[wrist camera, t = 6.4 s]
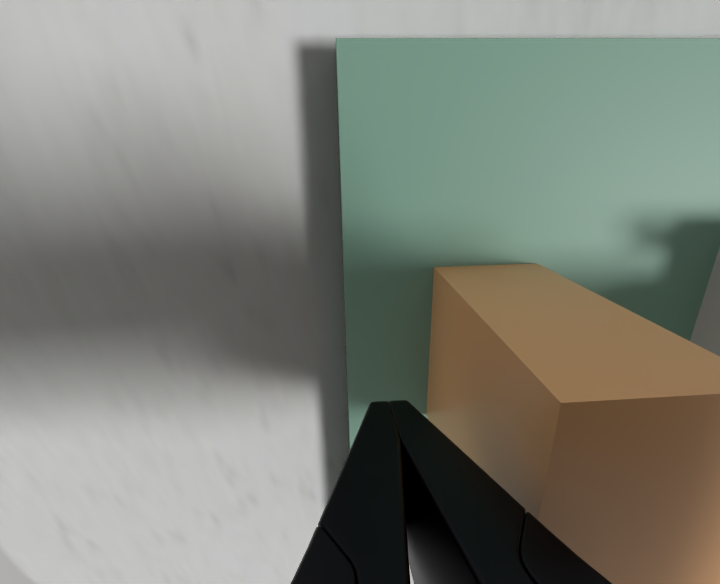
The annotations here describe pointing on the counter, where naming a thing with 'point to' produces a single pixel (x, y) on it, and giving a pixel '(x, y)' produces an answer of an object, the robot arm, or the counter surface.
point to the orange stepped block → (582, 418)
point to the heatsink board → (523, 183)
